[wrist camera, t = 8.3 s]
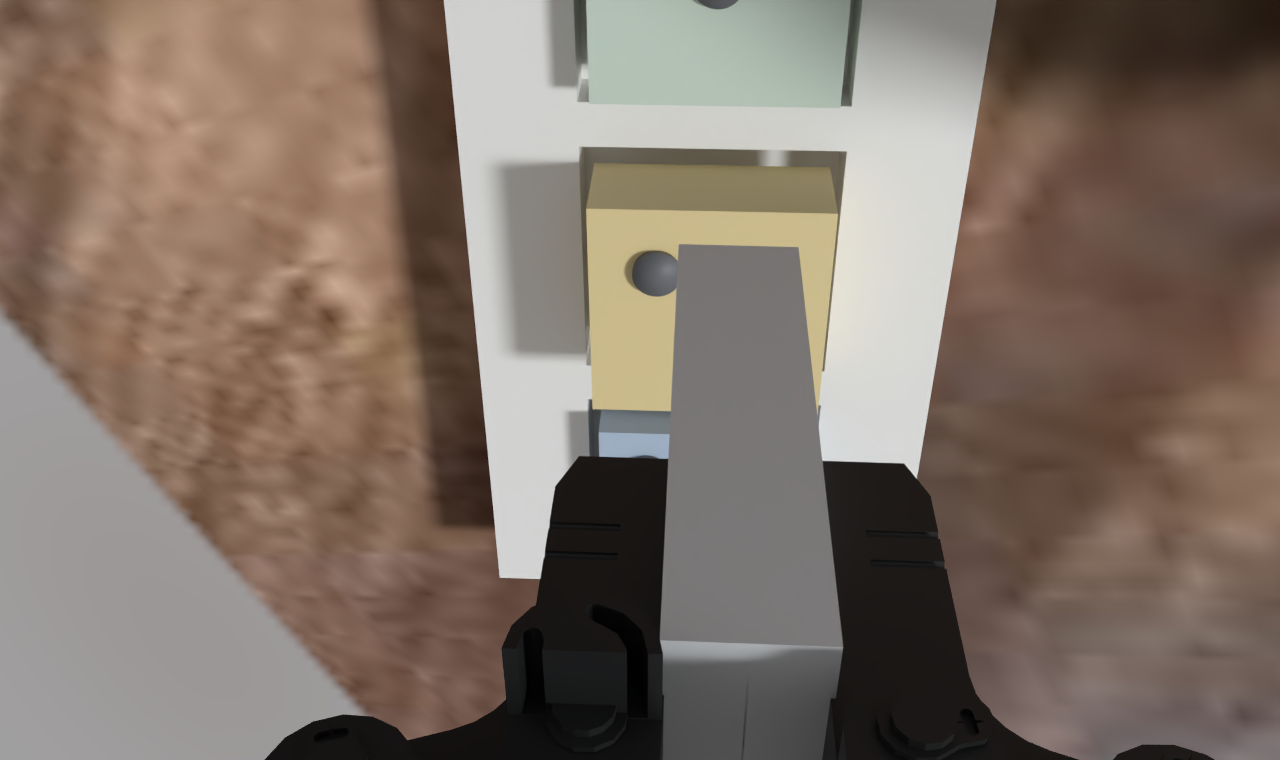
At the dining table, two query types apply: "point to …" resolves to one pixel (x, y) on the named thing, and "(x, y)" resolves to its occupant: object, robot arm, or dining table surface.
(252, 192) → the dining table surface
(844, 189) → the panel
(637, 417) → the tile three
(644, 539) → the robot arm
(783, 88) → the tile one
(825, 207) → the tile two
